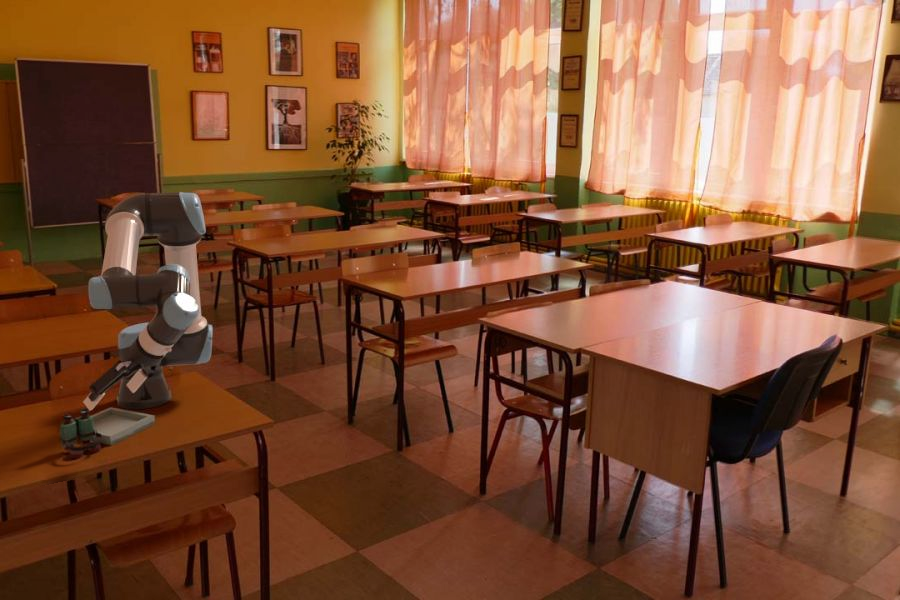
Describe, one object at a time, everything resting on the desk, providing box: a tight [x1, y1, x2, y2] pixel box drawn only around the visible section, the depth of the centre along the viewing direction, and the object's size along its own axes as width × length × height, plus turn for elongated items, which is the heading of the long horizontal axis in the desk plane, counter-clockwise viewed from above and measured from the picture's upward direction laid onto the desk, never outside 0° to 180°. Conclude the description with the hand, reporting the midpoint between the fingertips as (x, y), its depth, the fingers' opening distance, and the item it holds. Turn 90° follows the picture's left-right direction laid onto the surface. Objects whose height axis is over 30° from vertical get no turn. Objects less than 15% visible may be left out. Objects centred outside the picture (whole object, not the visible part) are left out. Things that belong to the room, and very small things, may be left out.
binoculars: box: [59, 407, 102, 459], centre depth 200 cm, size 9×11×10 cm
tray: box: [90, 406, 156, 446], centre depth 215 cm, size 16×16×2 cm
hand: (109, 397), depth 193 cm, fingers open, 13 cm apart
